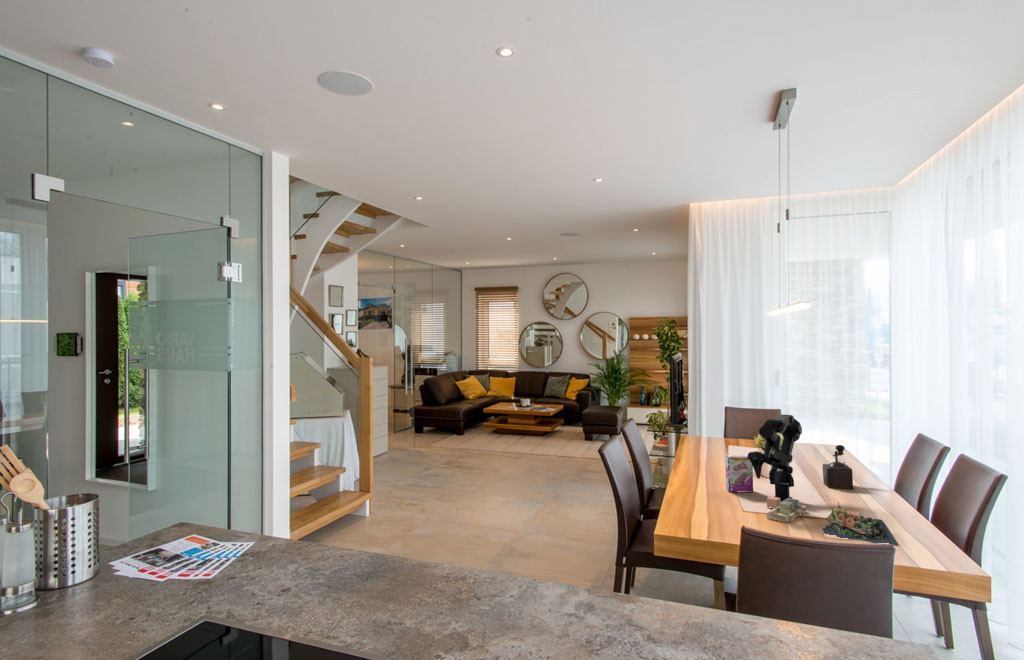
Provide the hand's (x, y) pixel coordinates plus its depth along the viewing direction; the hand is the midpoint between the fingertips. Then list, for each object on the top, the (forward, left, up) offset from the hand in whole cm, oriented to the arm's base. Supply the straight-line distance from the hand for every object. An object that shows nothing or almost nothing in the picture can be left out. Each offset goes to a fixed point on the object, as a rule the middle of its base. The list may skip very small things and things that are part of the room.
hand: (767, 482), depth 224 cm
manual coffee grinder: (-61, +8, -12) cm, 62 cm away
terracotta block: (-5, 0, -11) cm, 12 cm away
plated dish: (+1, +31, -12) cm, 33 cm away
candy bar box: (-20, -21, -12) cm, 31 cm away
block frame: (+2, +8, -11) cm, 14 cm away
